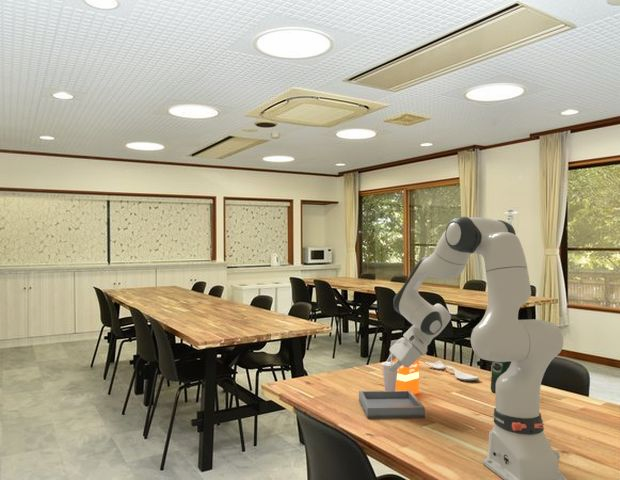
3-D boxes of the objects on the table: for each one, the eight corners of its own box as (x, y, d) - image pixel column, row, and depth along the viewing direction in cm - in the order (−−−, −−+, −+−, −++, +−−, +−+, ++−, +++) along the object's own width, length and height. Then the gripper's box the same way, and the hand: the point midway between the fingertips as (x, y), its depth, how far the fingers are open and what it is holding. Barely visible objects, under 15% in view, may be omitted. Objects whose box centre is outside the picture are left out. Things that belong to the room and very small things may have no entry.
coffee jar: (520, 394, 195) (520, 348, 195) (506, 397, 192) (506, 350, 192) (501, 388, 204) (500, 344, 204) (487, 391, 200) (487, 345, 200)
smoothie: (398, 393, 175) (398, 354, 175) (380, 392, 176) (380, 353, 176) (399, 388, 181) (399, 350, 181) (381, 387, 182) (381, 349, 183)
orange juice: (390, 392, 198) (390, 343, 198) (403, 388, 204) (403, 340, 204) (405, 397, 192) (405, 346, 192) (419, 392, 198) (419, 343, 198)
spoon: (439, 366, 244) (439, 359, 244) (483, 382, 214) (483, 374, 214) (424, 367, 240) (424, 360, 240) (466, 384, 210) (466, 376, 210)
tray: (424, 417, 169) (424, 407, 169) (367, 418, 168) (367, 408, 168) (410, 399, 189) (410, 390, 189) (358, 400, 188) (358, 391, 188)
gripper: (402, 329, 190) (377, 355, 189) (415, 340, 169) (388, 368, 169) (413, 341, 190) (388, 366, 189) (428, 352, 169) (400, 381, 169)
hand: (388, 367), depth 179 cm, fingers closed on smoothie, 6 cm apart
